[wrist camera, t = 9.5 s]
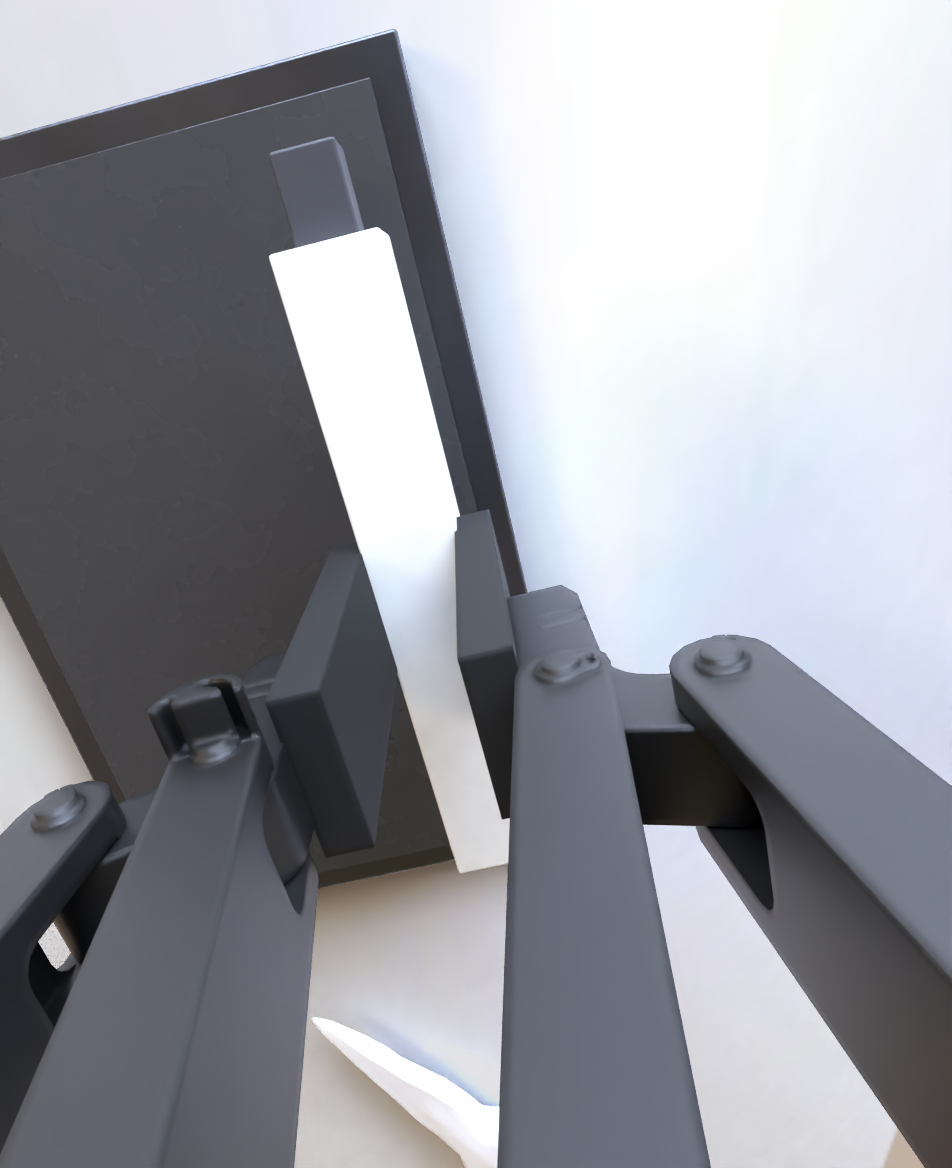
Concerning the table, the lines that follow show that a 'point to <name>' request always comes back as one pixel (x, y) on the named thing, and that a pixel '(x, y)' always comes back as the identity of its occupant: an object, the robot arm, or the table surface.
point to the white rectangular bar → (386, 470)
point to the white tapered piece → (423, 1095)
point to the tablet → (204, 402)
